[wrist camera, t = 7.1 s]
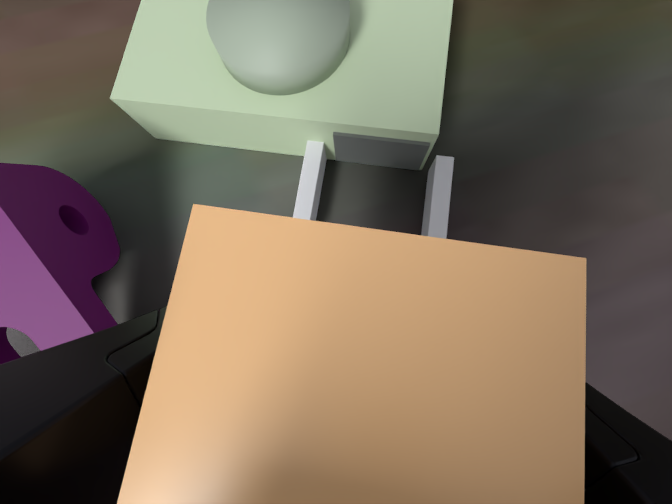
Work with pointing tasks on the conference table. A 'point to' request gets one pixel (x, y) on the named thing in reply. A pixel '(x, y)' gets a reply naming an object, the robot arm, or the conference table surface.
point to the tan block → (361, 370)
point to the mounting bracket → (51, 257)
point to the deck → (283, 124)
